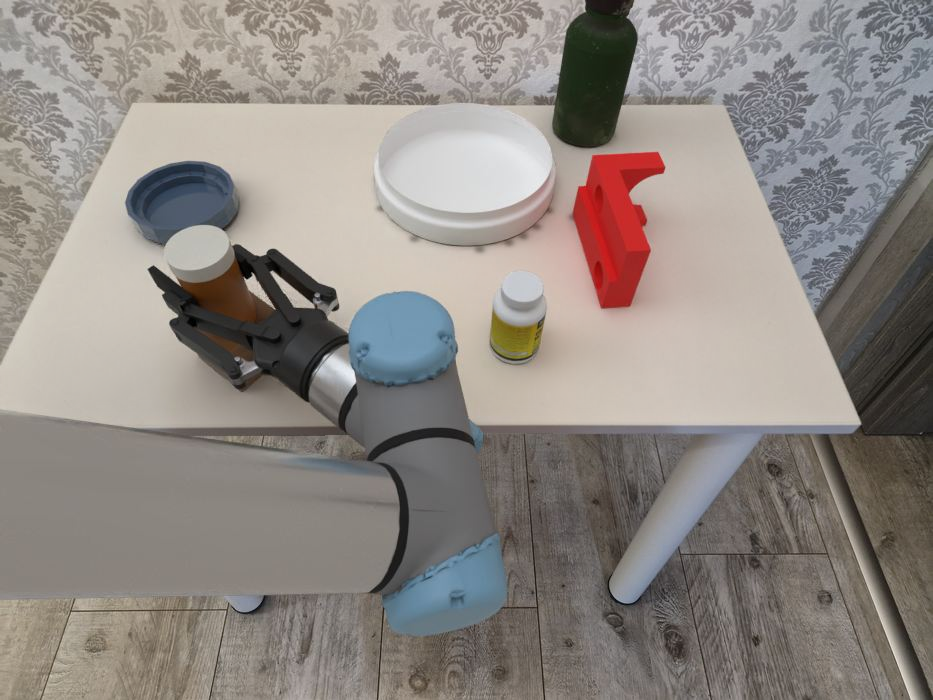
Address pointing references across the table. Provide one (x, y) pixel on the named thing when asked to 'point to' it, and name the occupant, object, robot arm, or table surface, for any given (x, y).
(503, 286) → the pill bottle
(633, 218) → the bracket
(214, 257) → the vitamin bottle
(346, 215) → the table surface
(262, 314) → the riser
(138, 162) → the table surface
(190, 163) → the bowl
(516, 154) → the round white tray
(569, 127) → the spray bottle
